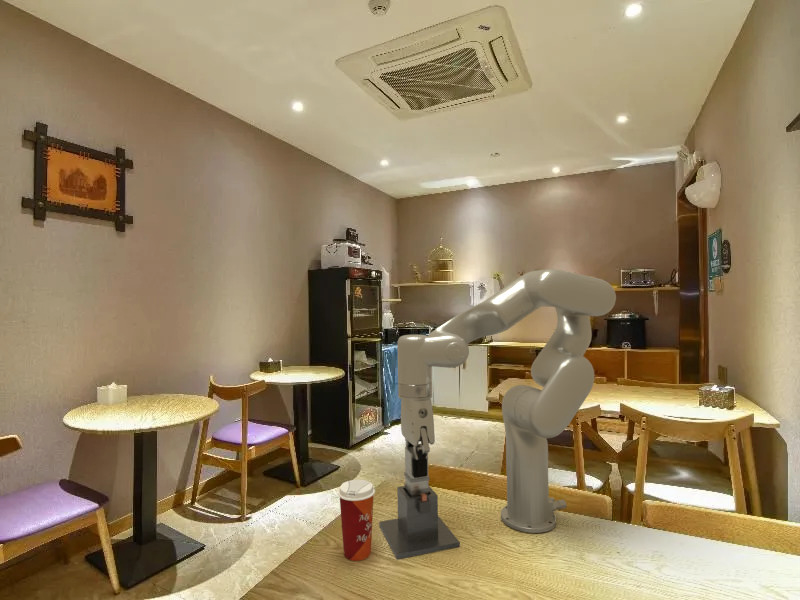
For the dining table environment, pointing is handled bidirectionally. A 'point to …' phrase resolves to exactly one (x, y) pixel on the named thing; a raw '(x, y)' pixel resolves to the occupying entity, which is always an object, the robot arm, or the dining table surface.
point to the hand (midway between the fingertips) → (416, 471)
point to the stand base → (417, 526)
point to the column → (413, 484)
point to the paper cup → (356, 518)
